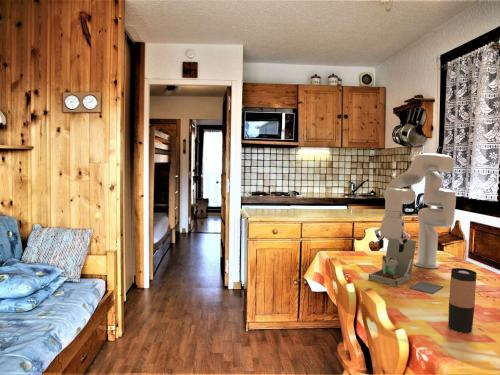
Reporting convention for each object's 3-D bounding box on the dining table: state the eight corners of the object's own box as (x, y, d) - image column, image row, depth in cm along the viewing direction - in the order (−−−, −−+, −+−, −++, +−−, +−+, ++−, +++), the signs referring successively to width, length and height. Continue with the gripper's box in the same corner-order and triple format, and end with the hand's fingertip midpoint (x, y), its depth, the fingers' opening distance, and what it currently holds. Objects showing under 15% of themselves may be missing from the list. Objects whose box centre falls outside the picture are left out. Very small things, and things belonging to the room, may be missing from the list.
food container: (398, 283, 182) (399, 262, 181) (384, 282, 183) (385, 261, 182) (394, 276, 194) (395, 256, 193) (381, 274, 195) (382, 255, 194)
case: (387, 271, 202) (389, 236, 201) (414, 277, 193) (416, 240, 192) (368, 279, 187) (370, 242, 186) (396, 286, 178) (398, 246, 176)
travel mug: (442, 324, 137) (446, 267, 136) (463, 323, 138) (467, 267, 136) (456, 333, 129) (460, 274, 128) (477, 333, 130) (482, 274, 129)
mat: (420, 281, 185) (420, 281, 185) (443, 287, 178) (443, 286, 178) (409, 288, 175) (409, 287, 175) (432, 294, 168) (432, 293, 168)
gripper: (414, 216, 183) (412, 252, 184) (379, 212, 195) (377, 246, 196) (408, 217, 177) (405, 254, 178) (372, 212, 189) (370, 248, 190)
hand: (390, 250), depth 187 cm, fingers open, 9 cm apart
